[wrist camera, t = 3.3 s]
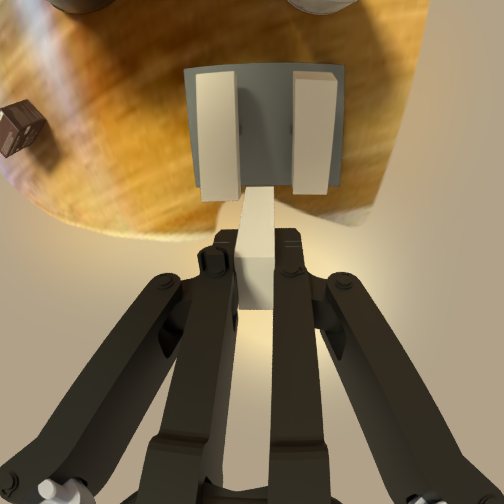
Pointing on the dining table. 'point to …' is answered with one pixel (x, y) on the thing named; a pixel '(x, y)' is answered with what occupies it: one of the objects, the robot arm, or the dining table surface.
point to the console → (267, 119)
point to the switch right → (312, 130)
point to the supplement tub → (321, 5)
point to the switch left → (218, 136)
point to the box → (18, 126)
